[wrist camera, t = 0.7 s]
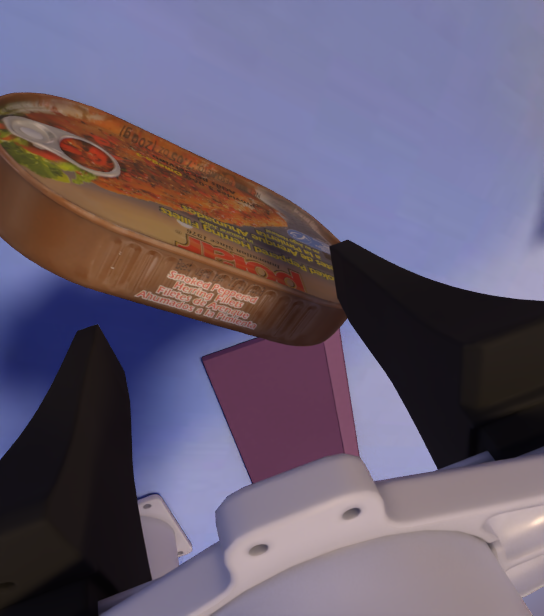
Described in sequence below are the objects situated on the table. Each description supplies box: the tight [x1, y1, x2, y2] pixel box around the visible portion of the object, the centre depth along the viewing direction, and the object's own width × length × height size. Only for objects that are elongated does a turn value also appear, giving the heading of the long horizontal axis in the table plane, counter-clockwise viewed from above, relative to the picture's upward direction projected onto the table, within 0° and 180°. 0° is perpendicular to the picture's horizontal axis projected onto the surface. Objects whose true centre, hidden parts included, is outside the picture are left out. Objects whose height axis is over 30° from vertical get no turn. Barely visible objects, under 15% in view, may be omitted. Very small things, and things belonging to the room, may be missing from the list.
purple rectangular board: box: [202, 328, 360, 483], centre depth 36 cm, size 8×20×1 cm, turn 12°
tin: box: [0, 93, 347, 346], centre depth 20 cm, size 15×3×8 cm, turn 58°
